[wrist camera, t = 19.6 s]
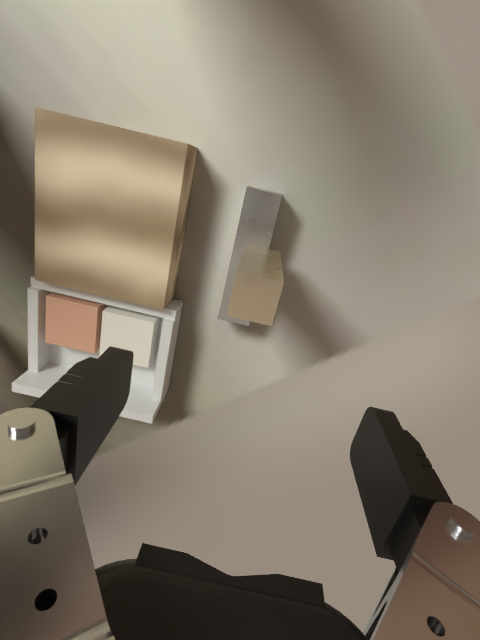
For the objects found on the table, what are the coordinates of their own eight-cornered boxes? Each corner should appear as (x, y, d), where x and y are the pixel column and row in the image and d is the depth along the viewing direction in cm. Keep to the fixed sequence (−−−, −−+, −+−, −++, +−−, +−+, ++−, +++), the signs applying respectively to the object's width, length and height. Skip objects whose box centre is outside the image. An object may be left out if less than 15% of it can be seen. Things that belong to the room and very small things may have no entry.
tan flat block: (63, 116, 31) (35, 107, 27) (197, 148, 31) (187, 143, 27) (58, 269, 36) (34, 280, 33) (174, 296, 36) (163, 310, 33)
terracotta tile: (57, 289, 35) (45, 295, 34) (106, 301, 36) (97, 307, 34) (56, 334, 37) (45, 342, 35) (103, 345, 37) (94, 353, 36)
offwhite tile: (111, 304, 36) (102, 310, 34) (160, 315, 36) (154, 322, 34) (107, 347, 37) (99, 356, 36) (154, 358, 38) (148, 368, 36)
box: (49, 269, 36) (9, 285, 31) (183, 300, 36) (167, 322, 31) (47, 362, 40) (12, 391, 35) (168, 390, 41) (151, 423, 35)
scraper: (221, 308, 37) (198, 371, 24) (248, 185, 32) (236, 189, 20) (259, 317, 37) (255, 385, 25) (292, 196, 32) (305, 206, 20)
